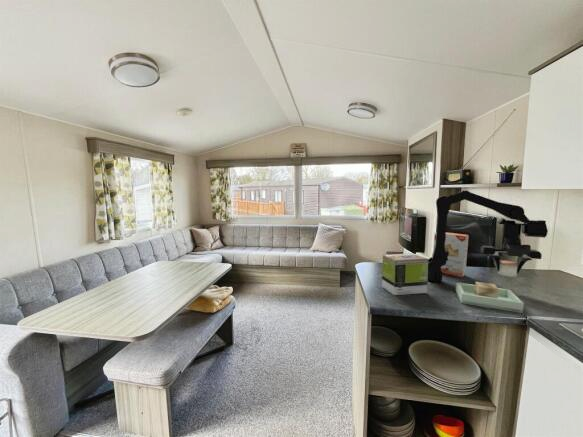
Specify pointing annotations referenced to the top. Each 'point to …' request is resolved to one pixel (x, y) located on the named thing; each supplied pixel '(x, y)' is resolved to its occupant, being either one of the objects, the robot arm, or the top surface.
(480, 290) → the oak block
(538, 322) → the top surface
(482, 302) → the green tote
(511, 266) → the cream tub
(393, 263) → the tea box
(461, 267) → the cracker box
